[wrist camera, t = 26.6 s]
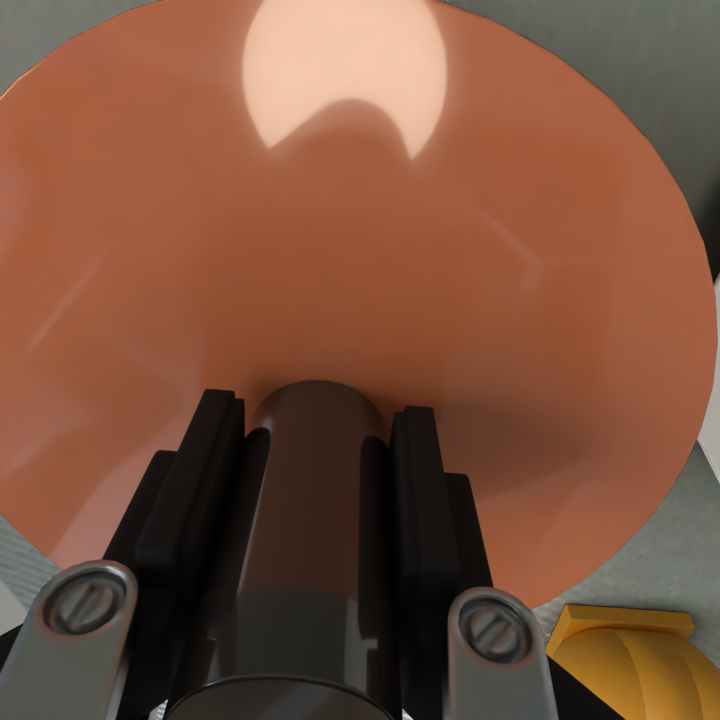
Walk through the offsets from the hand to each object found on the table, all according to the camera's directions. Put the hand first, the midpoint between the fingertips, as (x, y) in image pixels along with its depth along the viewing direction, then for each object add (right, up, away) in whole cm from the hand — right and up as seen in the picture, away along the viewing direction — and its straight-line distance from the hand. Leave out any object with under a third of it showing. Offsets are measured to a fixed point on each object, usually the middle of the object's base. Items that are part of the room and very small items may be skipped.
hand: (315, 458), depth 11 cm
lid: (0, +1, +1) cm, 1 cm away
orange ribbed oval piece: (+13, -12, +16) cm, 24 cm away
